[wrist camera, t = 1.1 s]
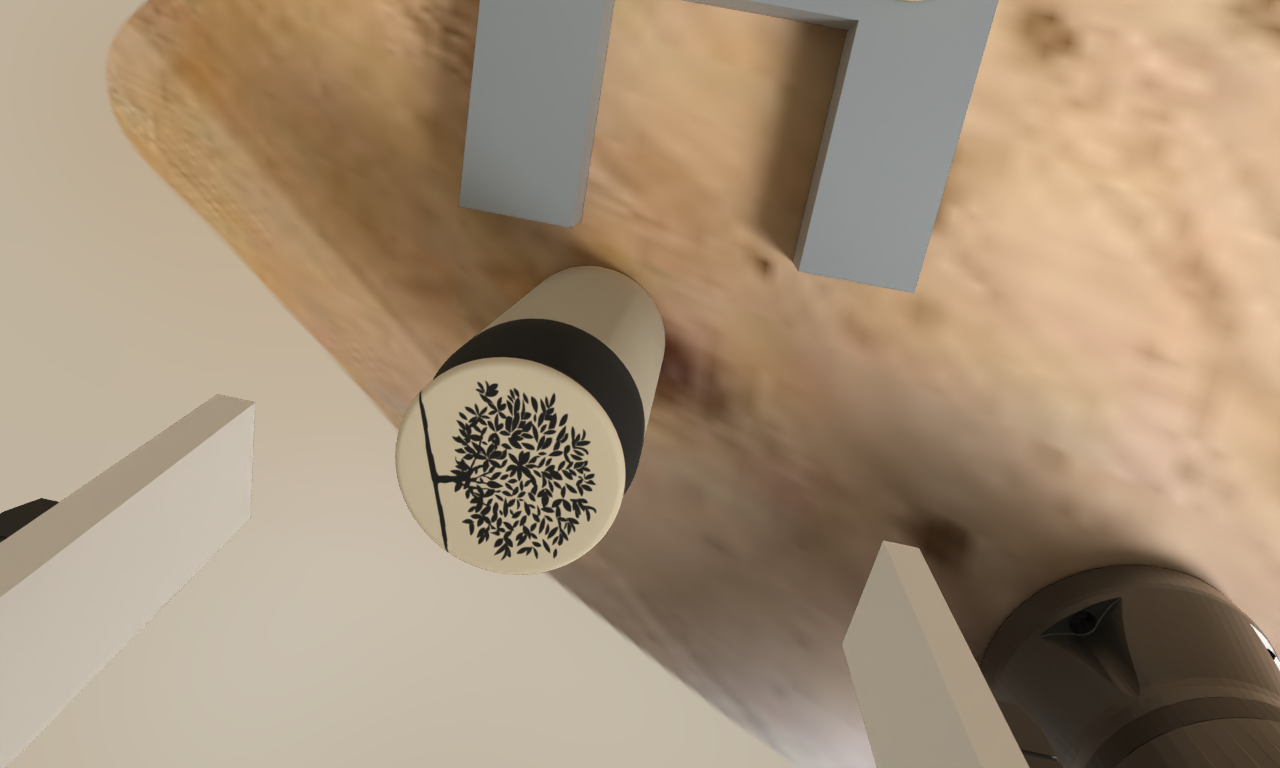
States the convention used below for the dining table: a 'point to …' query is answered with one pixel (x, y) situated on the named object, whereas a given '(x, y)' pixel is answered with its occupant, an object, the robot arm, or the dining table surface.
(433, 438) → the travel mug
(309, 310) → the dining table surface
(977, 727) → the robot arm
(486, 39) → the notched board
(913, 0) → the birch bobbin
